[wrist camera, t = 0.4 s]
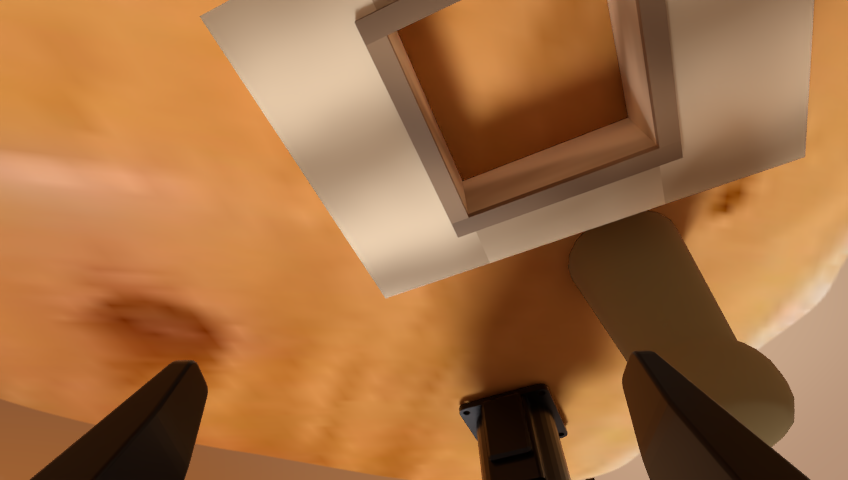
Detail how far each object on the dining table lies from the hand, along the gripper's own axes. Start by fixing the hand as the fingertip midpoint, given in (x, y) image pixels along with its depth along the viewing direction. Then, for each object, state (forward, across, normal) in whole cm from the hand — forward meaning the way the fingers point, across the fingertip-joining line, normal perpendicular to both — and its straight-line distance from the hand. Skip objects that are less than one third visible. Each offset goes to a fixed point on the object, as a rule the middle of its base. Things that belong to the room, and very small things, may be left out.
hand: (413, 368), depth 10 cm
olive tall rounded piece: (+14, -11, +8) cm, 20 cm away
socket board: (+14, -4, -2) cm, 15 cm away
